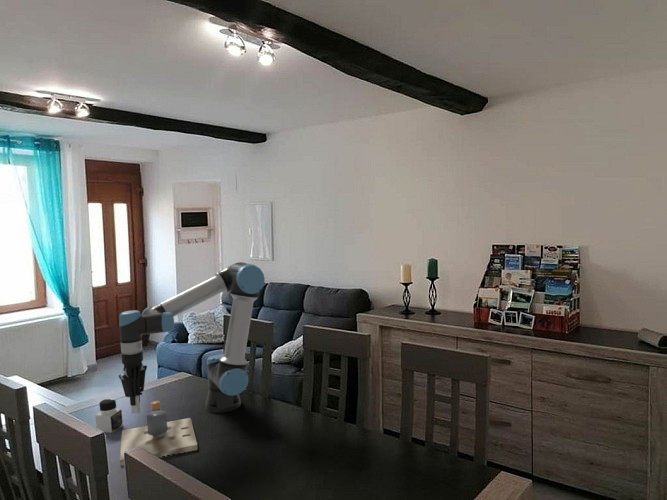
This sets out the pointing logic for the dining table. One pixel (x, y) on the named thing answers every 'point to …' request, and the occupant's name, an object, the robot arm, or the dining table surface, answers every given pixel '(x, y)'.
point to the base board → (161, 439)
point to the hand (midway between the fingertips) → (136, 412)
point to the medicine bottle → (109, 416)
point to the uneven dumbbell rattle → (156, 420)
